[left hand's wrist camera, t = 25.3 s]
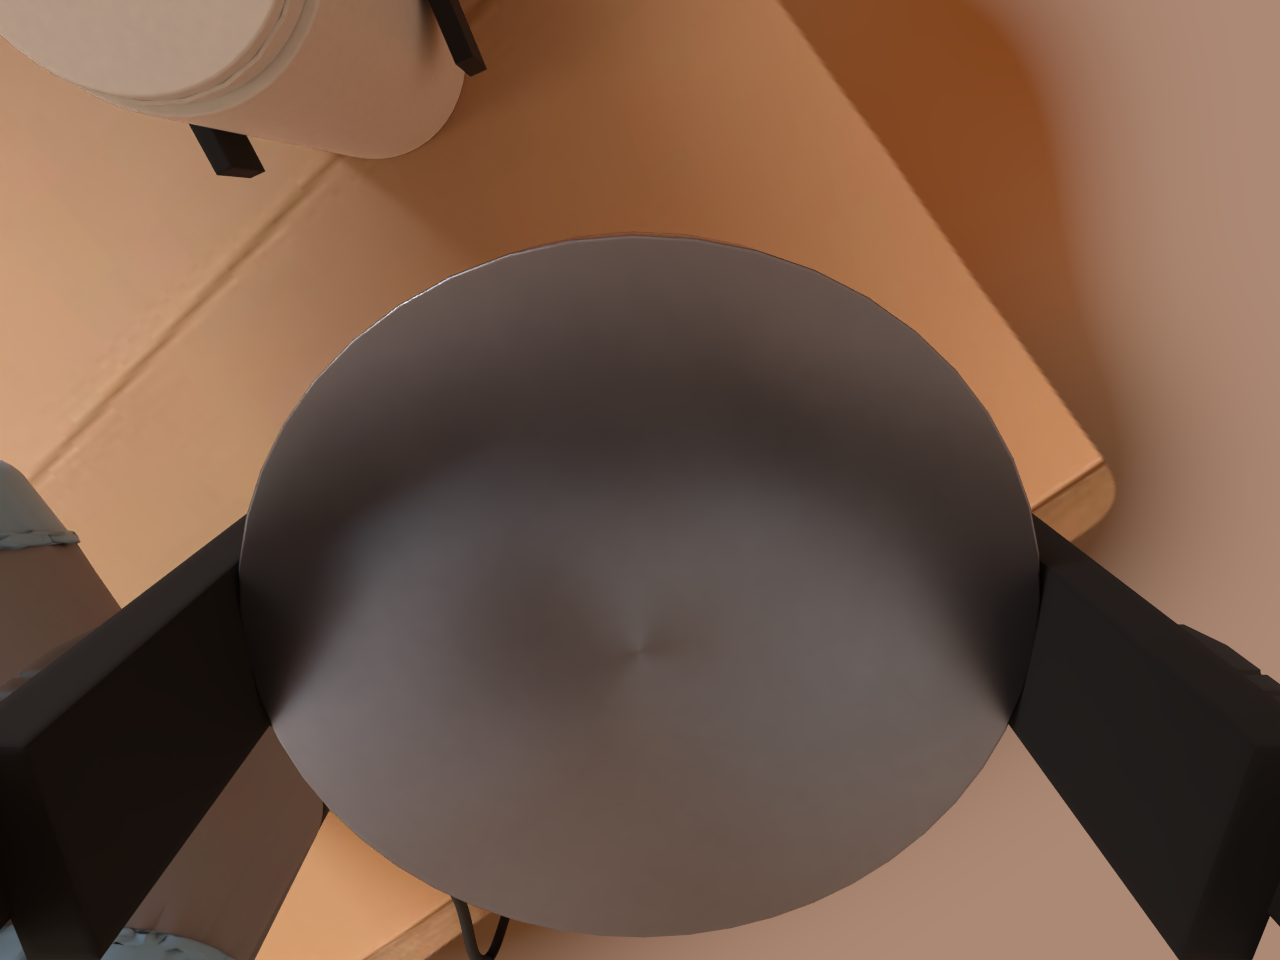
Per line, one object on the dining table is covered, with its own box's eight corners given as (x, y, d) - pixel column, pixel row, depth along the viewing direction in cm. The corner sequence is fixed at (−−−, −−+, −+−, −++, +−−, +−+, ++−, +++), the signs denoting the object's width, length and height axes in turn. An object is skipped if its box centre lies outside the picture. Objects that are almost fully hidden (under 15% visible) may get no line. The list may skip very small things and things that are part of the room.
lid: (227, 238, 10) (147, 243, 8) (1040, 225, 10) (1119, 227, 8) (350, 856, 14) (311, 942, 12) (939, 849, 14) (979, 934, 12)
